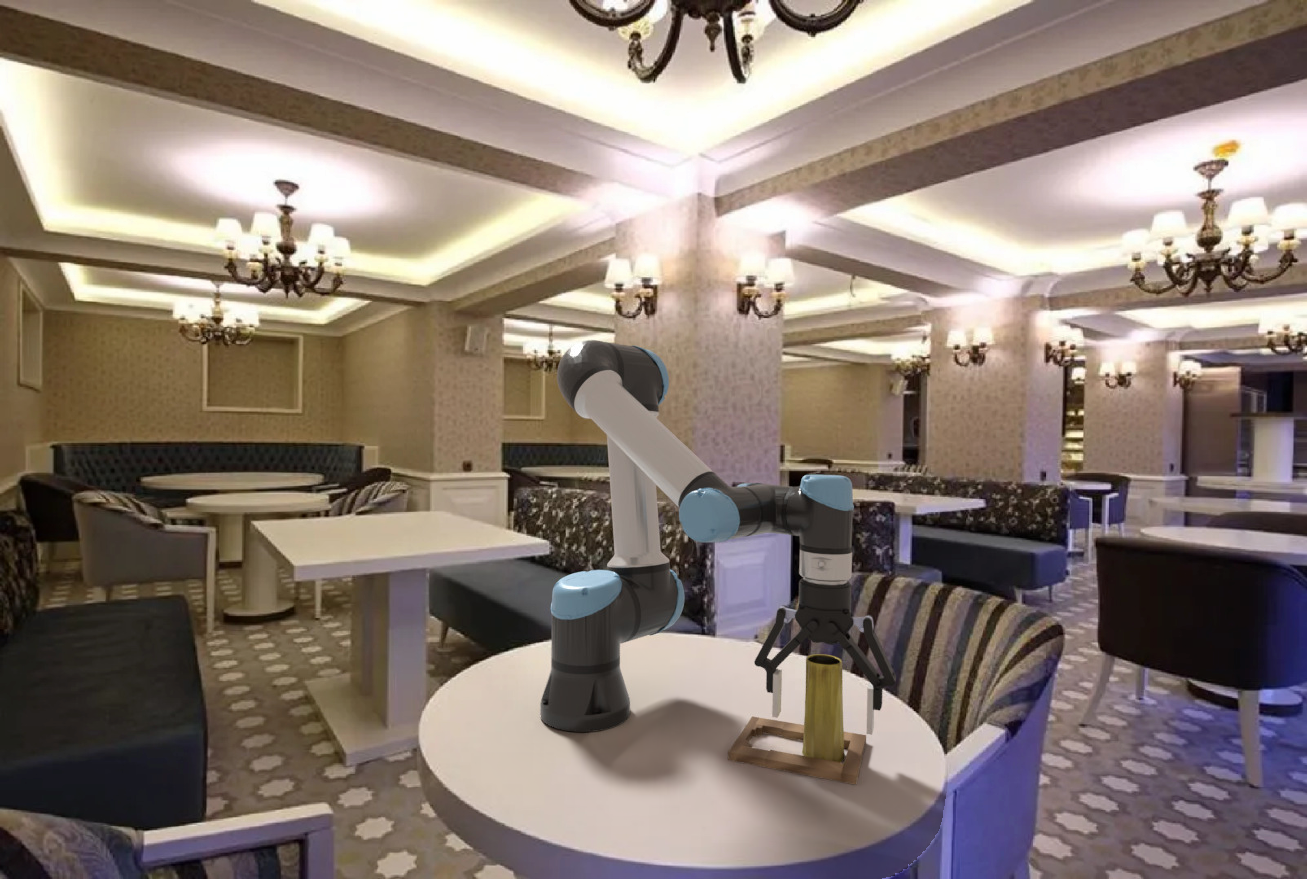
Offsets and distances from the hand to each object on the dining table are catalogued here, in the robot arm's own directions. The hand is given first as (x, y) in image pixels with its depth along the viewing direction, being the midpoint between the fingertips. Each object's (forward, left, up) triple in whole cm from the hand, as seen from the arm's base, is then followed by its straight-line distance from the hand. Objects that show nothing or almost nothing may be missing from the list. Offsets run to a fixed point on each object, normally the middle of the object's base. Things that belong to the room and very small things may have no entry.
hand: (822, 722), depth 101 cm
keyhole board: (-3, 0, -5) cm, 6 cm away
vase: (0, 0, -5) cm, 5 cm away
